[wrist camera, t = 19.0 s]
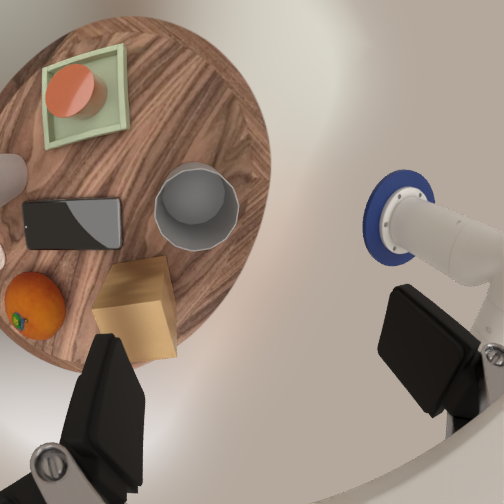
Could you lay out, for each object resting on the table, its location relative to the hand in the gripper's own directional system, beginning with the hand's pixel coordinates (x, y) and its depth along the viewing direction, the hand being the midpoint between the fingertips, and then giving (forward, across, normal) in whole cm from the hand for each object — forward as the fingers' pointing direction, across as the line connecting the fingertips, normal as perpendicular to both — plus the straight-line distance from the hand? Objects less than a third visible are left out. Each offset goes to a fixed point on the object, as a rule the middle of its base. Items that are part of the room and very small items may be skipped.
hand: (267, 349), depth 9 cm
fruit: (+30, +29, +12) cm, 43 cm away
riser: (+30, +11, +12) cm, 34 cm away
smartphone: (+30, +20, +1) cm, 36 cm away
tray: (+30, +15, -15) cm, 37 cm away
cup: (+31, +2, 0) cm, 31 cm away
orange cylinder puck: (+29, +15, -15) cm, 36 cm away
